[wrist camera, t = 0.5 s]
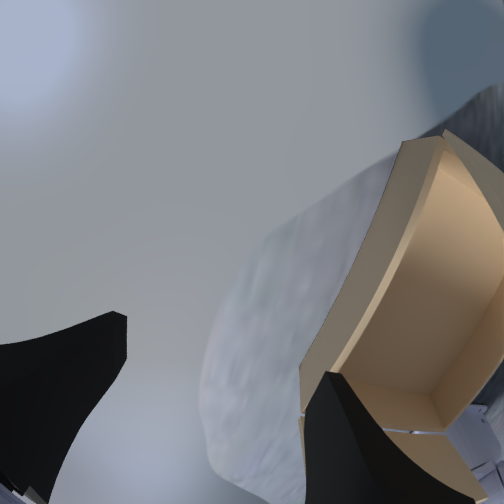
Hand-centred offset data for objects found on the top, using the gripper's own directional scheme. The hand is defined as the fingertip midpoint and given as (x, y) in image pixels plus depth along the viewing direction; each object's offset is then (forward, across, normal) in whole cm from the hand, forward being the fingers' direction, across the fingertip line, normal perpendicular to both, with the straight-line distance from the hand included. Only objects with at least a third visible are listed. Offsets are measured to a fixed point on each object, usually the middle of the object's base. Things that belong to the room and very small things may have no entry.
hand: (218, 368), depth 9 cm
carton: (+10, -14, -1) cm, 17 cm away
